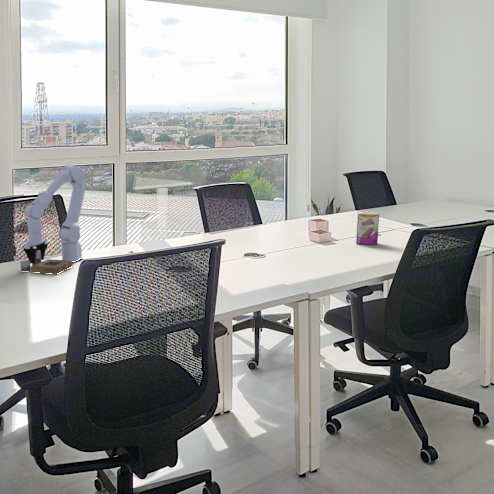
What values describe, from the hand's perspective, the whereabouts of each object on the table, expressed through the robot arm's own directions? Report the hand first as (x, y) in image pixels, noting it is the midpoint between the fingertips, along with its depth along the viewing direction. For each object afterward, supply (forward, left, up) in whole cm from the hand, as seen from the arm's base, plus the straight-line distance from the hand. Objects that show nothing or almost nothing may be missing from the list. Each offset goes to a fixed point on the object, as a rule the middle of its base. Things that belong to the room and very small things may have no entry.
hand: (36, 261), depth 305 cm
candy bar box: (-94, +139, -3) cm, 168 cm away
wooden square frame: (+4, +10, -2) cm, 11 cm away
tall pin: (0, 0, -2) cm, 2 cm away
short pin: (+9, 0, -2) cm, 9 cm away
